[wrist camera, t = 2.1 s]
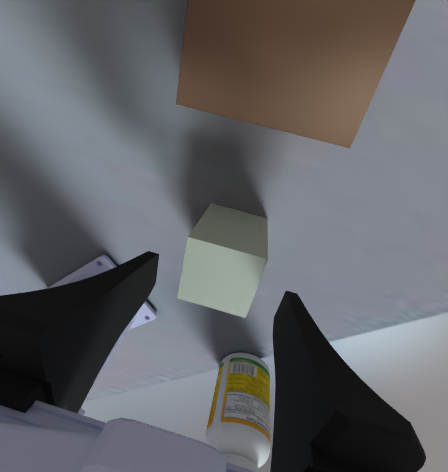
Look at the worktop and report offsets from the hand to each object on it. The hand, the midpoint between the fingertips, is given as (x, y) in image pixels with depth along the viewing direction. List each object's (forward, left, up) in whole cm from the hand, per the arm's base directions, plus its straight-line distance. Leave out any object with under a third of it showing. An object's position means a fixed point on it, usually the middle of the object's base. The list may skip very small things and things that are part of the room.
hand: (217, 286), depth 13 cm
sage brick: (0, 0, -7) cm, 7 cm away
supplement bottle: (-7, -14, -7) cm, 17 cm away
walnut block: (+9, +9, -7) cm, 14 cm away
